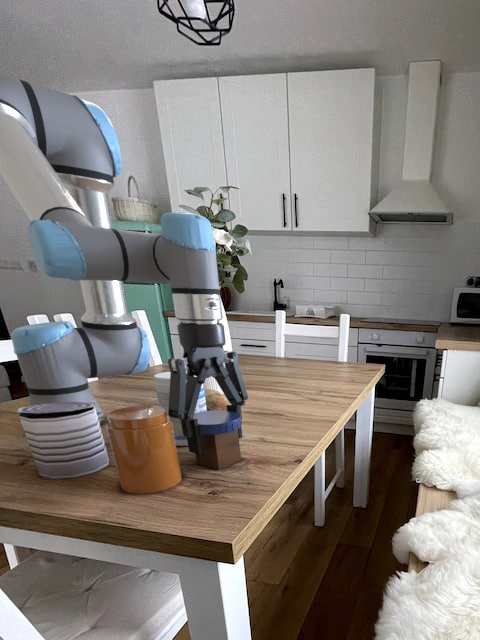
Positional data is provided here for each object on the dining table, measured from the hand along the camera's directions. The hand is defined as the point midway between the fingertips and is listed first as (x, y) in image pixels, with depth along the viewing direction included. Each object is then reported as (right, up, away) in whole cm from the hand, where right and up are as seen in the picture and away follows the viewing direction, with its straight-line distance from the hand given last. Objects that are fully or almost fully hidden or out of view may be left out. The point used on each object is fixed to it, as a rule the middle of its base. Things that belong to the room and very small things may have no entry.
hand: (217, 444), depth 77 cm
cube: (0, -3, +2) cm, 4 cm away
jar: (-9, -7, -7) cm, 14 cm away
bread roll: (-14, +12, +34) cm, 39 cm away
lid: (0, +5, -2) cm, 5 cm away
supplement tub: (-11, +2, +13) cm, 17 cm away
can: (-26, -5, -2) cm, 27 cm away
